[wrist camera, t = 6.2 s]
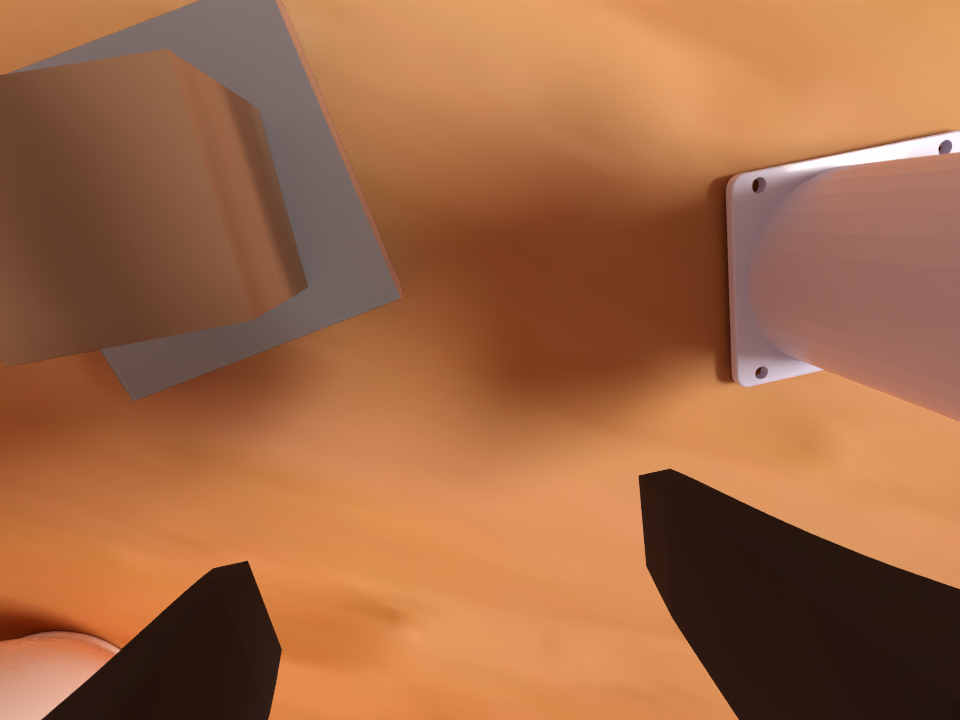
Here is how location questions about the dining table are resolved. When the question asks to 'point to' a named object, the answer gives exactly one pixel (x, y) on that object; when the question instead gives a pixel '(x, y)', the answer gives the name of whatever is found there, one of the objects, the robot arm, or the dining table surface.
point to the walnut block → (134, 207)
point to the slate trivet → (301, 174)
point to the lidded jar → (47, 670)
